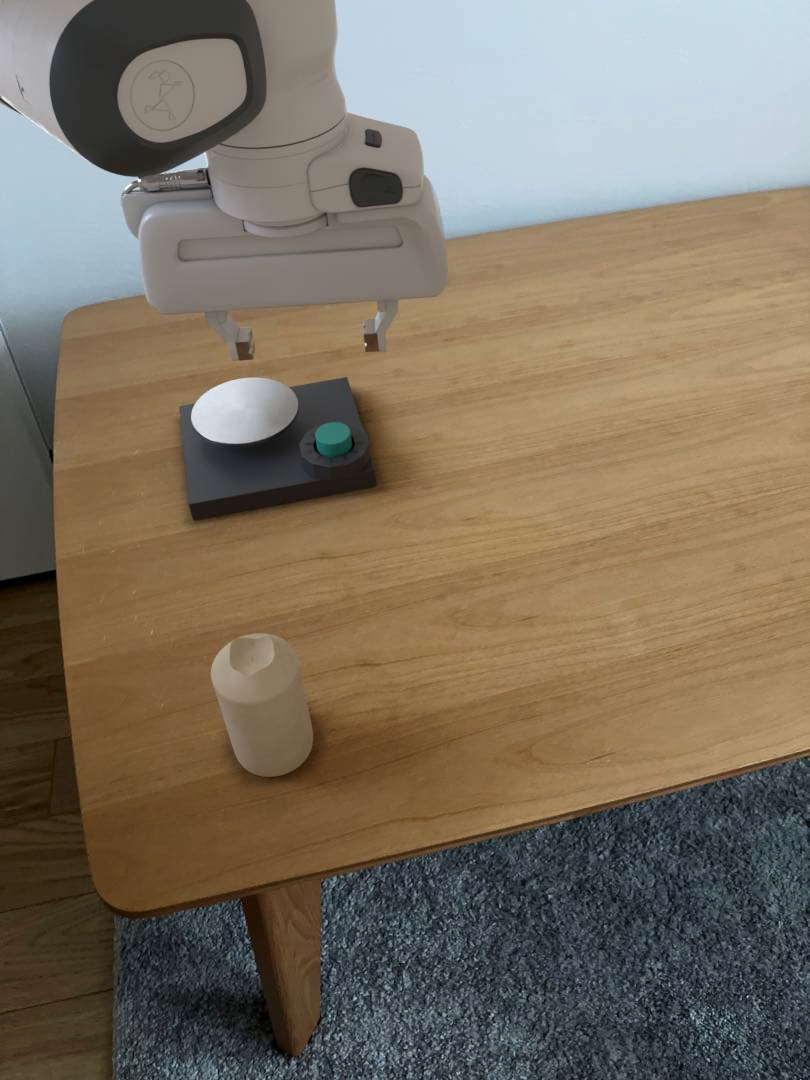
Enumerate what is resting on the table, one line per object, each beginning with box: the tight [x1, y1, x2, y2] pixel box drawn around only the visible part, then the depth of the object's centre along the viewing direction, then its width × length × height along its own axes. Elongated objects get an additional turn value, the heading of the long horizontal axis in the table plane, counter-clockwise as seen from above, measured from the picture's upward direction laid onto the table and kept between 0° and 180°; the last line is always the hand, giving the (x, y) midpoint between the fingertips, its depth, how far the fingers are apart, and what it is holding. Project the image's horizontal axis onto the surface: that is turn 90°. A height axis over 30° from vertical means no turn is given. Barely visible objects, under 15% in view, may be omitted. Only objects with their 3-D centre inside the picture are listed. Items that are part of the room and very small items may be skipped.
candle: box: [210, 632, 314, 778], centre depth 66 cm, size 6×6×10 cm
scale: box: [178, 376, 378, 521], centre depth 90 cm, size 16×14×4 cm
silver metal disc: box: [191, 377, 299, 447], centre depth 90 cm, size 10×10×1 cm
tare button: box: [315, 422, 352, 458], centre depth 86 cm, size 3×3×2 cm
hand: (309, 351), depth 72 cm, fingers open, 8 cm apart
